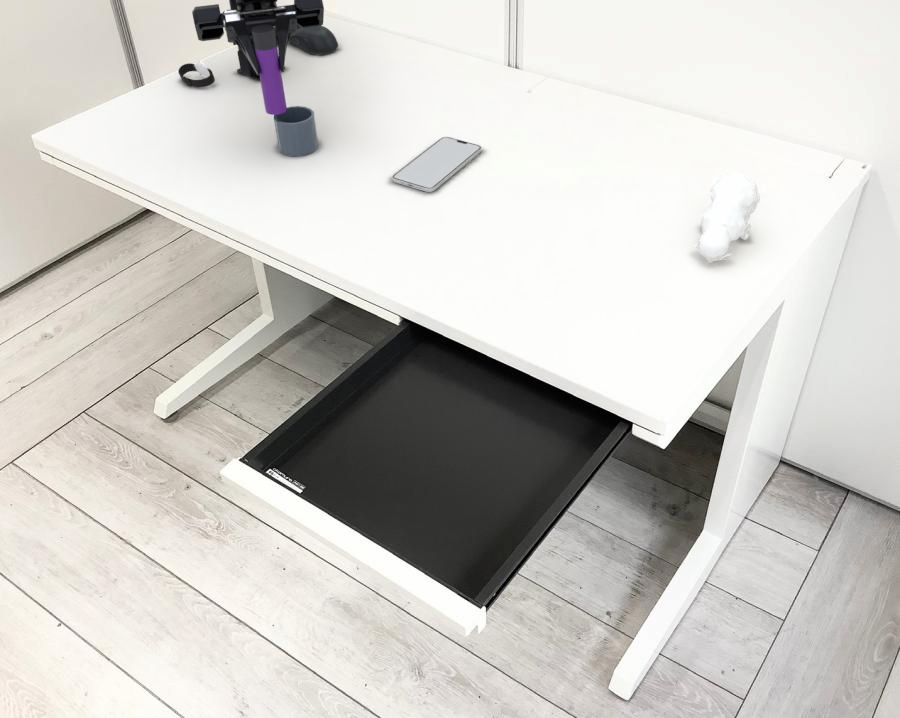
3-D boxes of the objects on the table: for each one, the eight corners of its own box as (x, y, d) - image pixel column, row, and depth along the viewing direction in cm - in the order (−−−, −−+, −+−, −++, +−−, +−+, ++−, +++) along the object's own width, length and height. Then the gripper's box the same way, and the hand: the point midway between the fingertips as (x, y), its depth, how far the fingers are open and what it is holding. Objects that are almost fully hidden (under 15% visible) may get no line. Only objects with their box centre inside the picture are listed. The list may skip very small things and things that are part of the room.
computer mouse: (313, 62, 167) (311, 41, 164) (263, 44, 174) (259, 24, 172) (352, 45, 173) (350, 25, 170) (301, 28, 180) (298, 9, 177)
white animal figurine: (767, 172, 114) (741, 225, 107) (756, 225, 120) (730, 279, 113) (718, 161, 116) (689, 213, 109) (709, 214, 122) (681, 266, 115)
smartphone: (389, 177, 132) (443, 135, 141) (389, 181, 132) (443, 139, 142) (431, 190, 129) (483, 146, 138) (431, 194, 129) (484, 150, 139)
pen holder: (298, 134, 145) (294, 102, 141) (326, 144, 142) (322, 112, 138) (270, 149, 141) (265, 117, 137) (298, 160, 138) (293, 127, 134)
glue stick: (273, 104, 138) (259, 23, 129) (291, 107, 136) (278, 26, 128) (261, 113, 135) (246, 31, 127) (279, 116, 134) (266, 34, 126)
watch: (222, 82, 161) (218, 63, 159) (202, 92, 158) (198, 72, 156) (193, 73, 164) (189, 54, 162) (173, 82, 162) (169, 62, 159)
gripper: (178, -52, 122) (199, 57, 121) (313, -67, 125) (335, 40, 124) (188, -12, 133) (208, 89, 132) (312, -26, 136) (332, 72, 135)
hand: (270, 72), depth 131 cm, fingers closed on glue stick, 3 cm apart
